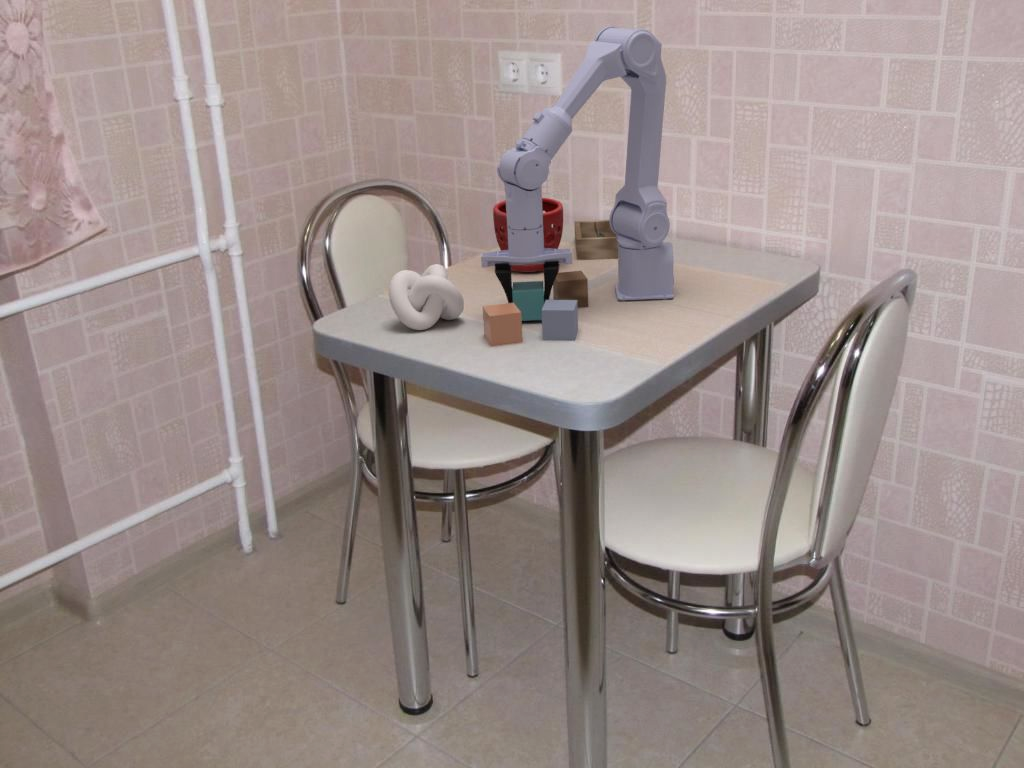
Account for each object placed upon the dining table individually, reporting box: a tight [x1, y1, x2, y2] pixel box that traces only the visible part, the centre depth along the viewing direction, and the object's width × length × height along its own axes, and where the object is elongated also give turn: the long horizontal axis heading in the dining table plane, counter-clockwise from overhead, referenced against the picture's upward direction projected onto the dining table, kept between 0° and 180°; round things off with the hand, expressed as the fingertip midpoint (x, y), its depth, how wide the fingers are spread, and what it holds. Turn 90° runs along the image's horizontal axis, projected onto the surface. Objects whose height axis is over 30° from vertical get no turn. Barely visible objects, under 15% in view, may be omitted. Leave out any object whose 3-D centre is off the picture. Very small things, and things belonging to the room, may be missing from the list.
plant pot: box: [492, 197, 564, 273], centre depth 200 cm, size 13×13×12 cm
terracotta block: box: [482, 302, 524, 347], centre depth 165 cm, size 5×5×5 cm
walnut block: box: [552, 270, 589, 309], centre depth 180 cm, size 5×5×5 cm
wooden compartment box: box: [574, 219, 618, 260], centre depth 210 cm, size 14×14×4 cm
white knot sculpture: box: [388, 263, 465, 331], centre depth 173 cm, size 11×12×9 cm
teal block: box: [512, 280, 544, 322], centre depth 173 cm, size 5×5×5 cm
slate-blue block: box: [541, 299, 579, 341], centre depth 166 cm, size 5×5×5 cm
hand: (529, 306), depth 174 cm, fingers closed on teal block, 5 cm apart
